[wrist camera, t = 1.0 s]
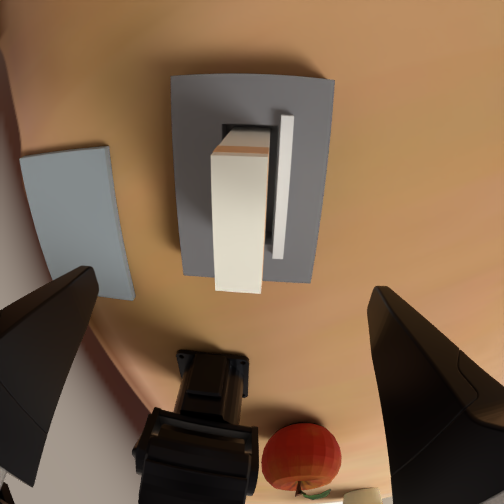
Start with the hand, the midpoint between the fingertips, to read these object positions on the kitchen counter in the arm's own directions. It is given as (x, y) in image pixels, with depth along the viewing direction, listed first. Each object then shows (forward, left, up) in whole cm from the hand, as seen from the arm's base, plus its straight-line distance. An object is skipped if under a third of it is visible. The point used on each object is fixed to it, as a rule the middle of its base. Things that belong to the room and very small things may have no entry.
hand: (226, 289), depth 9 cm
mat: (-4, +13, -10) cm, 17 cm away
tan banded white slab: (0, 0, -10) cm, 10 cm away
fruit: (-31, -7, -11) cm, 33 cm away
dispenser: (0, 0, -10) cm, 10 cm away
